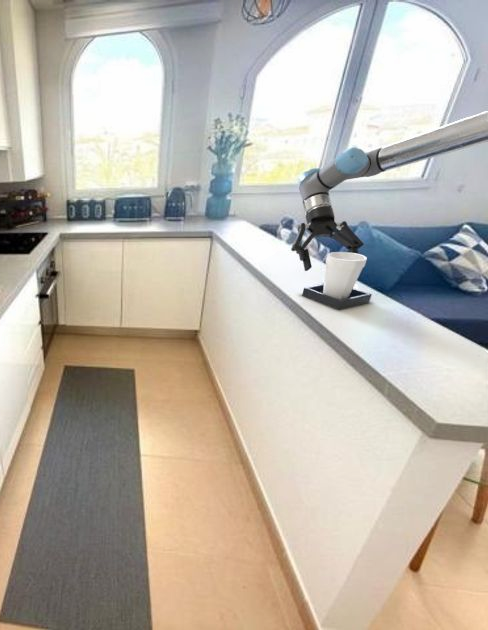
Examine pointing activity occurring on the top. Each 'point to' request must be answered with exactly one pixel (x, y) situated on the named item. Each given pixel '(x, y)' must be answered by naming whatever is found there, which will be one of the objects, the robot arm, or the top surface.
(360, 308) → the top surface
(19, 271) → the top surface
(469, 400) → the top surface
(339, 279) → the foam cup
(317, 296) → the dark grey square tray
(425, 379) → the top surface
